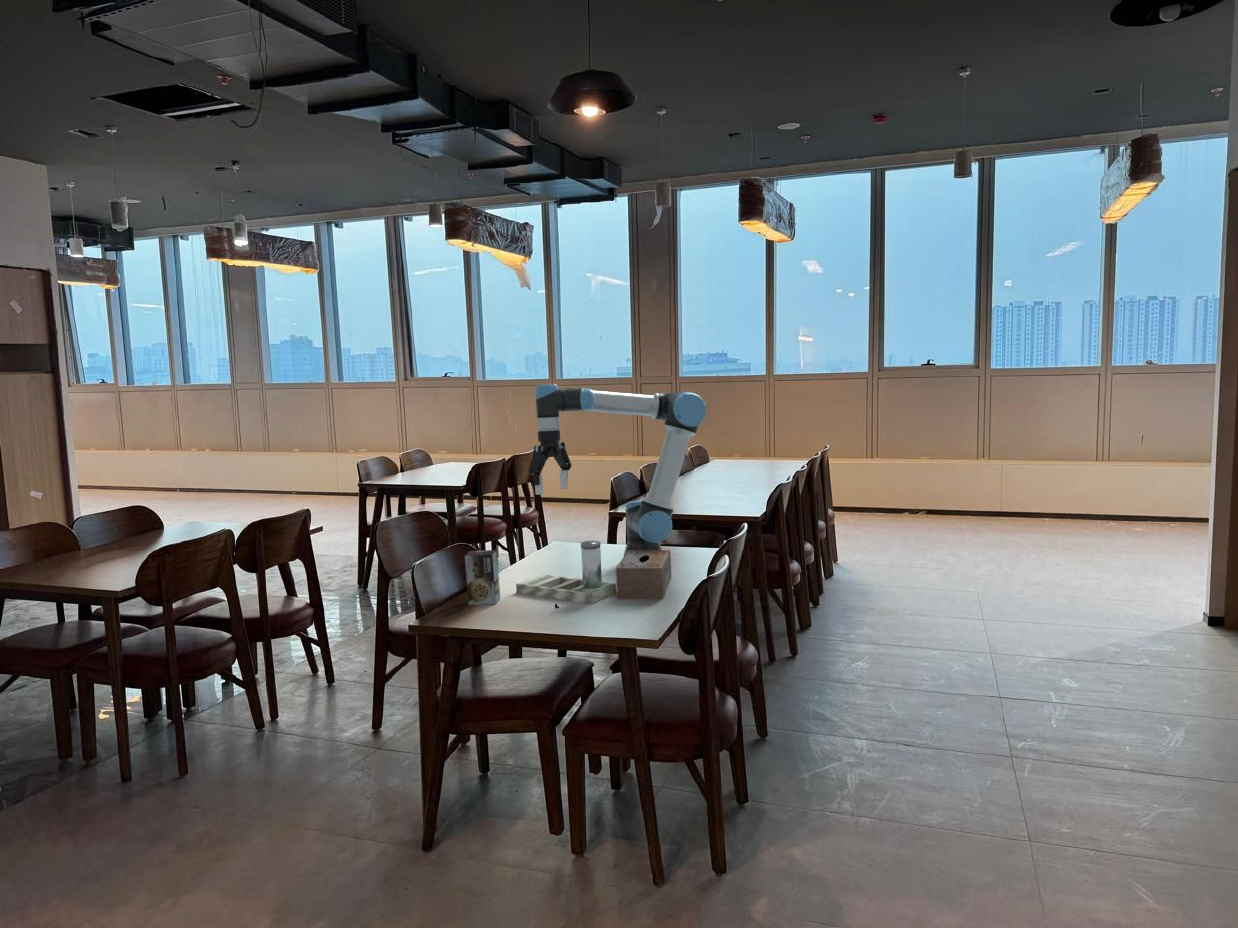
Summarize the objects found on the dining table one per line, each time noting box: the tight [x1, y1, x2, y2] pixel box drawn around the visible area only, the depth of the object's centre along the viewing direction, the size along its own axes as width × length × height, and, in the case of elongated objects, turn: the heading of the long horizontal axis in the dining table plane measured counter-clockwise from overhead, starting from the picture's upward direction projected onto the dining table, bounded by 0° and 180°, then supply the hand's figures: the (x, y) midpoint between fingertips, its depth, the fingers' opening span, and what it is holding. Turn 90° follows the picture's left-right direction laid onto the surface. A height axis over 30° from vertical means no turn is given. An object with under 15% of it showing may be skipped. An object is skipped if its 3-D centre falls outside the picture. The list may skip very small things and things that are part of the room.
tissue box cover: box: [615, 549, 672, 600], centre depth 267 cm, size 26×14×10 cm, turn 171°
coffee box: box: [464, 549, 501, 606], centre depth 258 cm, size 9×6×16 cm
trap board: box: [515, 574, 617, 605], centre depth 266 cm, size 30×14×3 cm, turn 56°
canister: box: [580, 540, 603, 589], centre depth 259 cm, size 6×6×14 cm
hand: (552, 491), depth 281 cm, fingers open, 13 cm apart
